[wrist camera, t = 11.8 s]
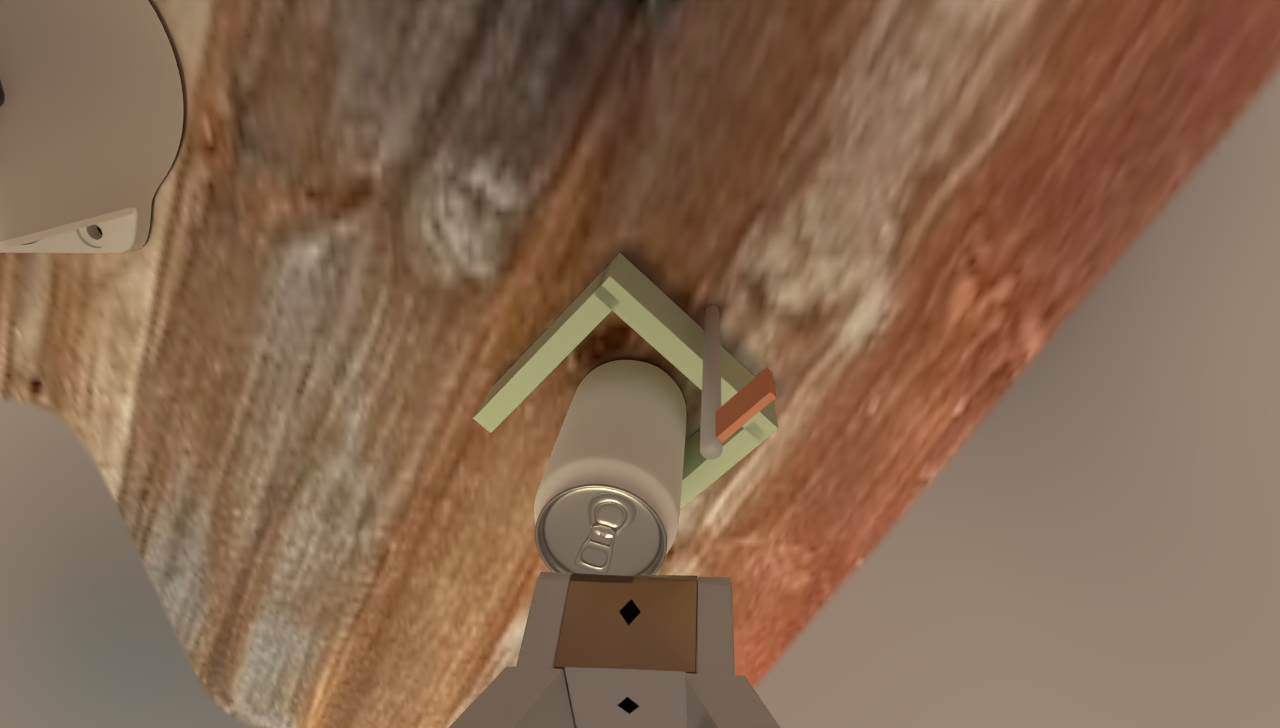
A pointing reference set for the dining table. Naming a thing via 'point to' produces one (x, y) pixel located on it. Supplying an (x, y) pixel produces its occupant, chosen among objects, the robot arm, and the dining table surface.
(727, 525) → the dining table surface
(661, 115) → the dining table surface
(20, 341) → the dining table surface
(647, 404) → the can
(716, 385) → the olive frame
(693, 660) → the robot arm
